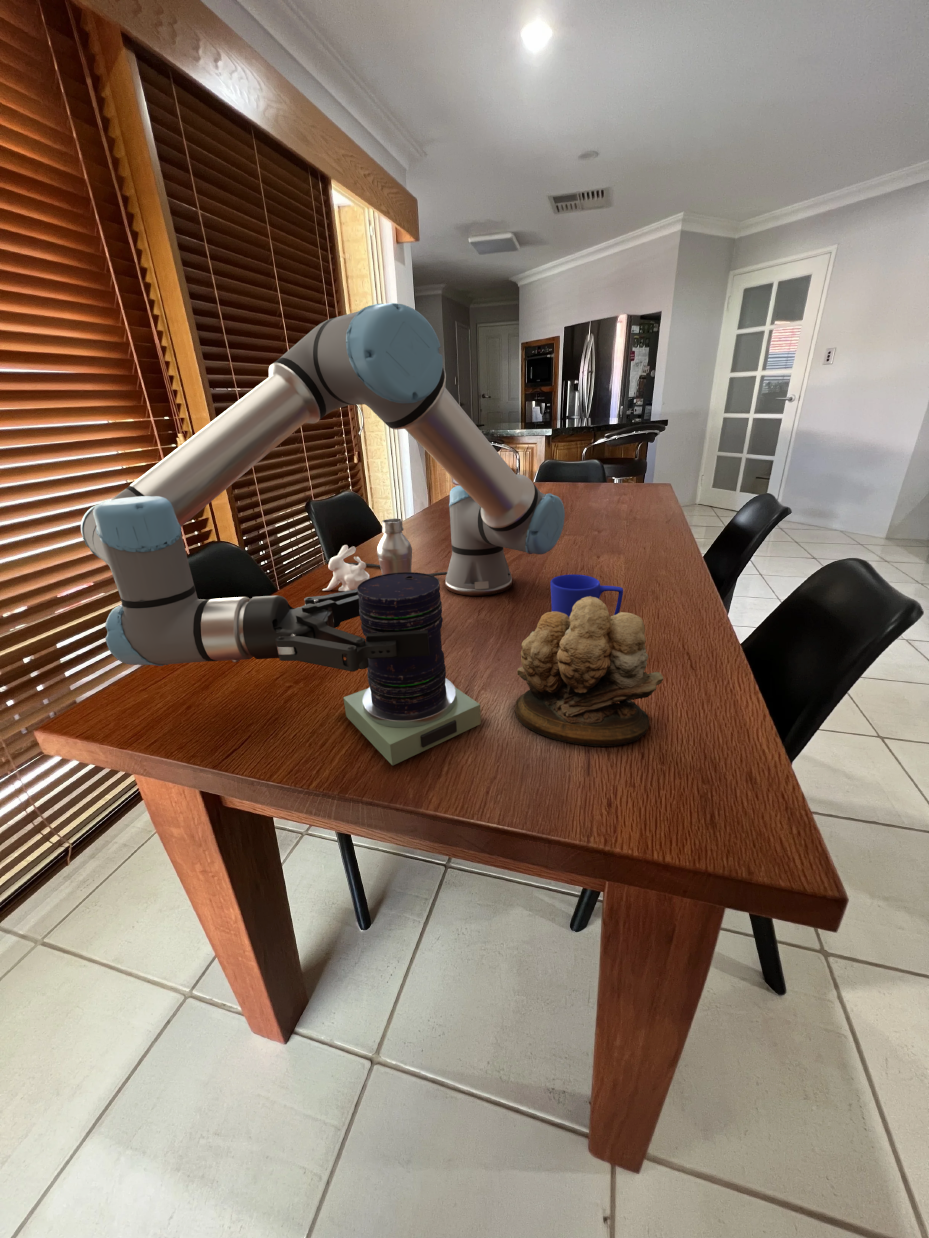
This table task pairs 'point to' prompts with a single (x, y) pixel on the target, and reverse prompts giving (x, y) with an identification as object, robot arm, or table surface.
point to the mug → (577, 591)
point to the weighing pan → (411, 720)
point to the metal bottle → (394, 548)
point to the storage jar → (399, 609)
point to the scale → (412, 728)
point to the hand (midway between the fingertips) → (430, 618)
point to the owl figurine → (586, 676)
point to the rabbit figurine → (346, 571)
